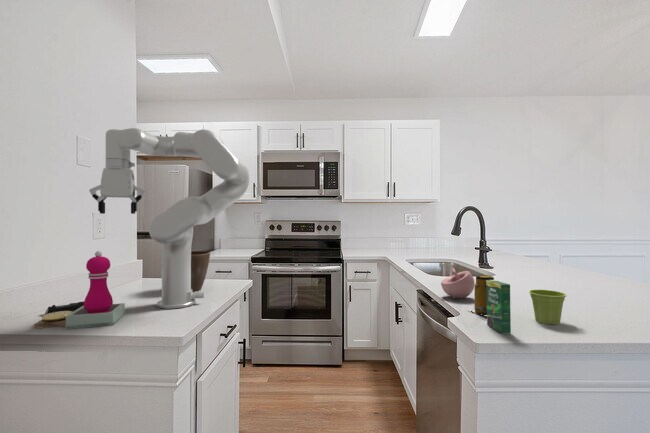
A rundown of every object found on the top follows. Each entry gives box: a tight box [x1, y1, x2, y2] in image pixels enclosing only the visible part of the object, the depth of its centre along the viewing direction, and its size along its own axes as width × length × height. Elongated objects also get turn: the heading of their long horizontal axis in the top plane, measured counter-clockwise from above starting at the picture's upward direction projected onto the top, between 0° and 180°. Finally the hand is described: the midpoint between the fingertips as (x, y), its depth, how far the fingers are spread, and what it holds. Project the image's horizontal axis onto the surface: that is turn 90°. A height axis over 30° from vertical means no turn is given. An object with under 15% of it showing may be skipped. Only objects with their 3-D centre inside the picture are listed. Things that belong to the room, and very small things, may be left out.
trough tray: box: [65, 302, 126, 330], centre depth 100 cm, size 12×12×4 cm
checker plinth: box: [33, 319, 66, 329], centre depth 98 cm, size 8×8×1 cm
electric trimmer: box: [44, 300, 85, 315], centre depth 112 cm, size 4×16×3 cm, turn 134°
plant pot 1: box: [191, 250, 211, 292], centre depth 142 cm, size 15×15×16 cm
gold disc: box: [41, 311, 73, 321], centre depth 98 cm, size 7×7×2 cm
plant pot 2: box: [528, 289, 567, 325], centre depth 99 cm, size 9×9×9 cm
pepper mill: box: [84, 250, 114, 314], centre depth 100 cm, size 7×7×20 cm
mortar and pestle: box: [440, 267, 476, 299], centre depth 129 cm, size 12×12×12 cm
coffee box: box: [486, 279, 512, 335], centre depth 93 cm, size 8×3×13 cm, turn 1°
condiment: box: [468, 274, 495, 318], centre depth 108 cm, size 7×8×12 cm
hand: (117, 213), depth 119 cm, fingers open, 9 cm apart
